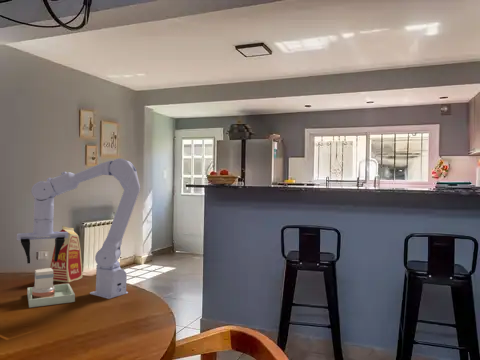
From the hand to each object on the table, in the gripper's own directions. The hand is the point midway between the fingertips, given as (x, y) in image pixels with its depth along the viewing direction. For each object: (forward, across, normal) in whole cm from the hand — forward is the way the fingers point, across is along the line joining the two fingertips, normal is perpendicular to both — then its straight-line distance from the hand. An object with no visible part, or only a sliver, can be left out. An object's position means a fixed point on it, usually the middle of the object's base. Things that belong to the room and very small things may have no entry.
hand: (42, 261), depth 122 cm
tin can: (+10, 0, +8) cm, 13 cm away
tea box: (+6, 0, +8) cm, 10 cm away
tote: (+10, -2, +6) cm, 12 cm away
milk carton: (+11, -9, -17) cm, 22 cm away
